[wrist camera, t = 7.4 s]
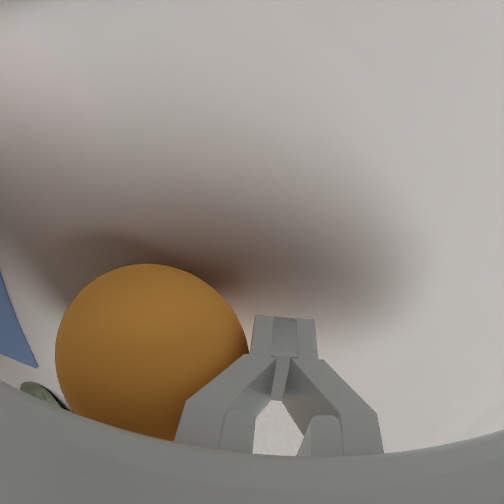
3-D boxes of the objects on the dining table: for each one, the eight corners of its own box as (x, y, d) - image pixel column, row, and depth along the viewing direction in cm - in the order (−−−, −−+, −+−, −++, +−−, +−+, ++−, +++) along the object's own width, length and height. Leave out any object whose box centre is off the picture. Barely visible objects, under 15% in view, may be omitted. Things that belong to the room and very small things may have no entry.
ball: (277, 382, 12) (219, 516, 6) (151, 356, 13) (72, 446, 8) (267, 236, 9) (150, 379, 4) (116, 233, 11) (-11, 310, 6)
